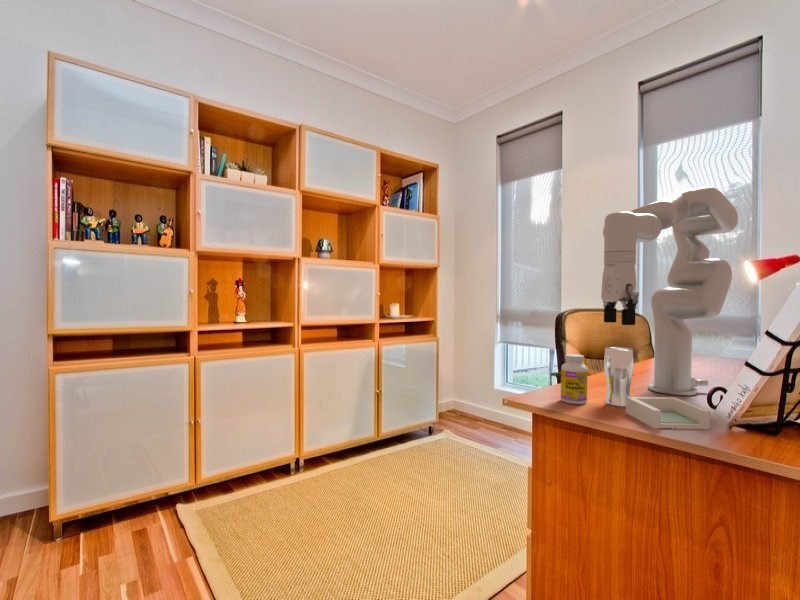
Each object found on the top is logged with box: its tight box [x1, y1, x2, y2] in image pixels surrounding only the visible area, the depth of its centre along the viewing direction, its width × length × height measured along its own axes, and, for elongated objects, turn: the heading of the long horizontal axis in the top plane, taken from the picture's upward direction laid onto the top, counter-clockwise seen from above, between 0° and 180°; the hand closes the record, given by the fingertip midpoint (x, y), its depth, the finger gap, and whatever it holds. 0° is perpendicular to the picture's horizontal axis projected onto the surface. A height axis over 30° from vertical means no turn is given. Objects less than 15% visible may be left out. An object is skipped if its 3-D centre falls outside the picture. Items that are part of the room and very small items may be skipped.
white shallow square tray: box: [625, 396, 711, 430], centre depth 97 cm, size 12×12×4 cm
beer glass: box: [603, 346, 635, 408], centre depth 111 cm, size 7×7×15 cm
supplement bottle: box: [560, 353, 588, 405], centre depth 113 cm, size 7×7×13 cm
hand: (618, 323), depth 110 cm, fingers open, 9 cm apart
